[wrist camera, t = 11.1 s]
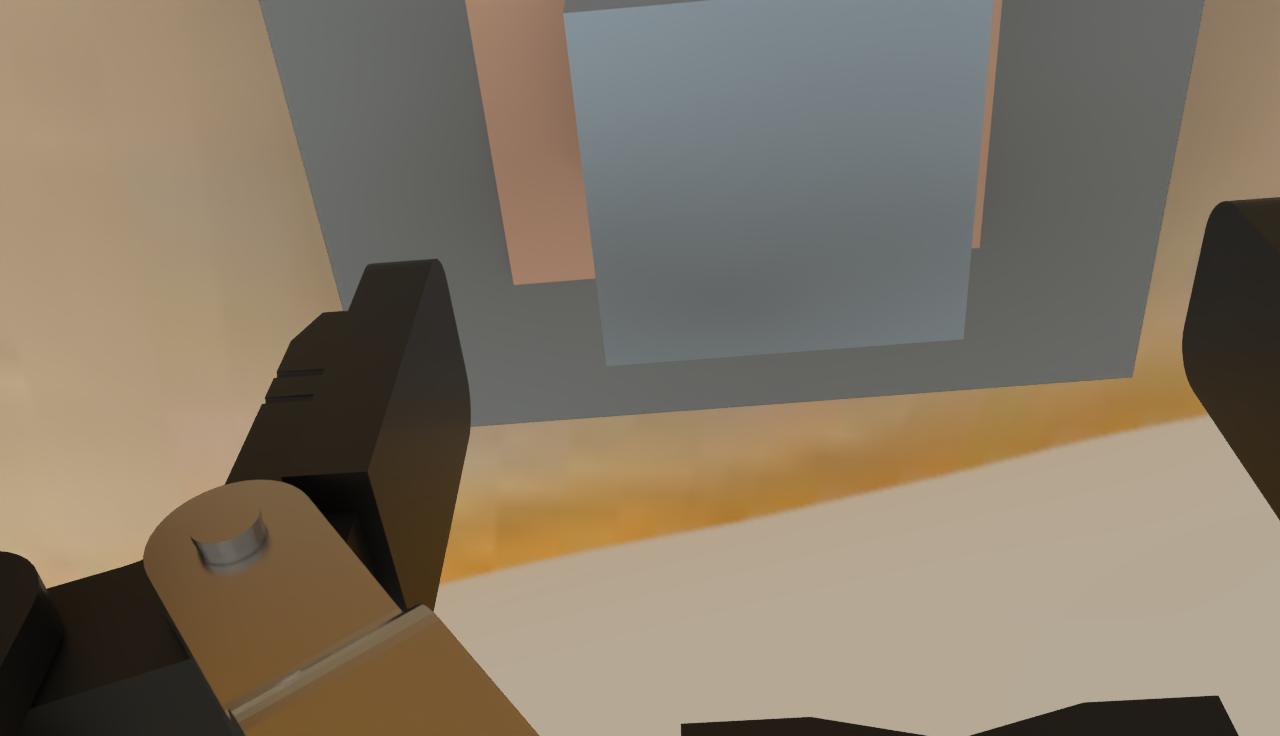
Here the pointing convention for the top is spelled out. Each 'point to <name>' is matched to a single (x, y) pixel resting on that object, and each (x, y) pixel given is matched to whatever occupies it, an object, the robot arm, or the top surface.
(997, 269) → the base plinth
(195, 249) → the top surface
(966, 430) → the top surface
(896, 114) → the slate block
